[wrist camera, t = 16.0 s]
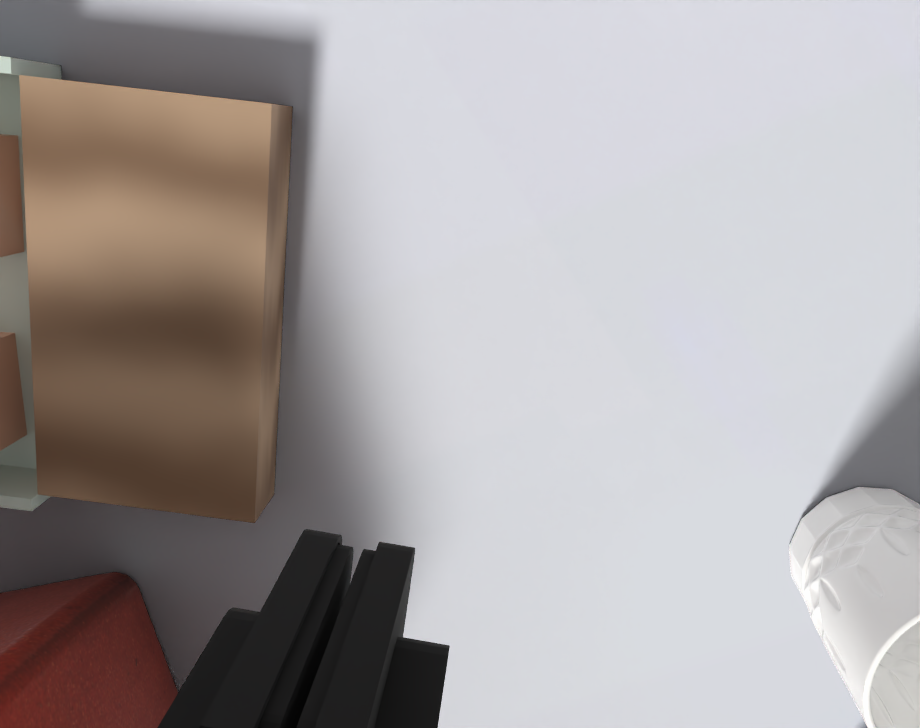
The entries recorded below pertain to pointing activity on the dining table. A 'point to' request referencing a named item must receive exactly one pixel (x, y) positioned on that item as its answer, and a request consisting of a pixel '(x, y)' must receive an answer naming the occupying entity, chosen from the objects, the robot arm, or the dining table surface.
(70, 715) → the plant pot
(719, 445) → the dining table surface
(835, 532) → the white cup
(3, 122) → the tray
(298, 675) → the robot arm
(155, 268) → the board
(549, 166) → the dining table surface
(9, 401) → the tile
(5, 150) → the tile
